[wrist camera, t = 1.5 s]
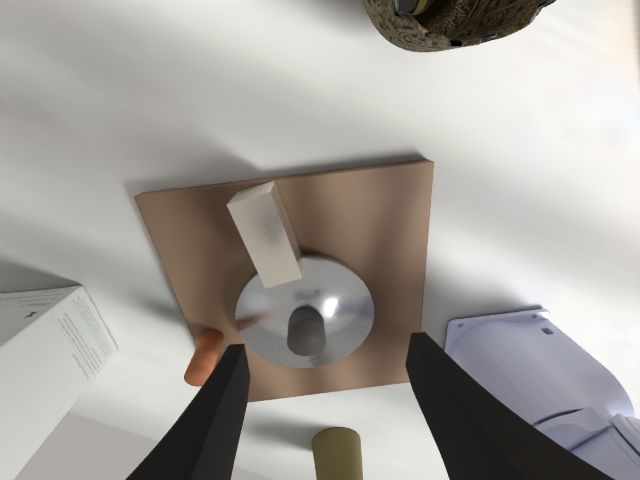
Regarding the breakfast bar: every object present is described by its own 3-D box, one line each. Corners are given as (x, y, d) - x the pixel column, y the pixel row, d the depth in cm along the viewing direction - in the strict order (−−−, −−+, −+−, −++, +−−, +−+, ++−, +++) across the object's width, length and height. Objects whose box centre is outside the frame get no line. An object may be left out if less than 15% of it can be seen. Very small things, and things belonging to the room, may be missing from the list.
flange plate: (381, 341, 24) (391, 367, 21) (267, 370, 25) (263, 399, 22) (337, 161, 17) (343, 169, 14) (178, 209, 18) (157, 225, 15)
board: (427, 159, 19) (468, 173, 14) (412, 372, 28) (433, 422, 24) (142, 192, 18) (90, 218, 14) (224, 396, 28) (209, 450, 23)
